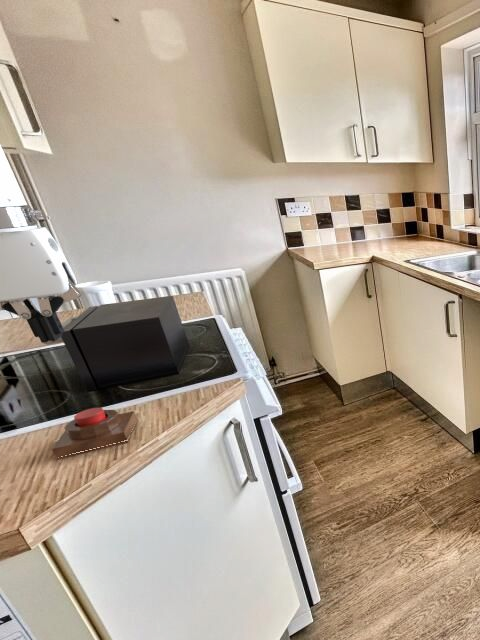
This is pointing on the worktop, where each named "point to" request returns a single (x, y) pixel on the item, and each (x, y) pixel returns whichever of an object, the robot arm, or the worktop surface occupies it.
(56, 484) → the worktop surface
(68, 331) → the oven door
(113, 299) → the cup
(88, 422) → the button
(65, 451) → the block
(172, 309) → the oven
